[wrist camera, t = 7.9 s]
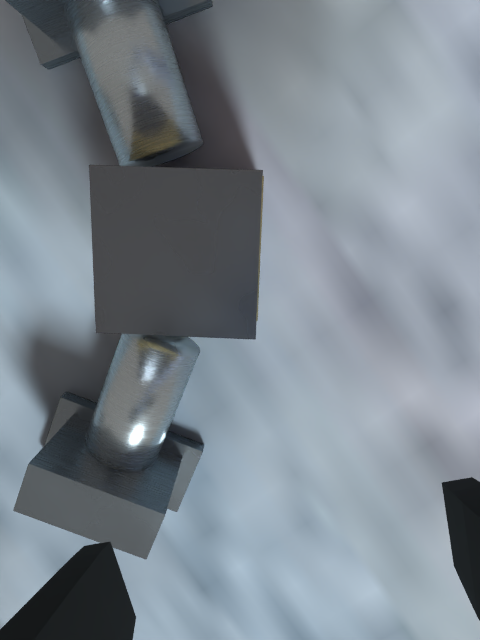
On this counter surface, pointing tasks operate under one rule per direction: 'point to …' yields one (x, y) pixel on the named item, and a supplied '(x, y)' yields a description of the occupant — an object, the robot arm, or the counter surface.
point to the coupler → (176, 250)
